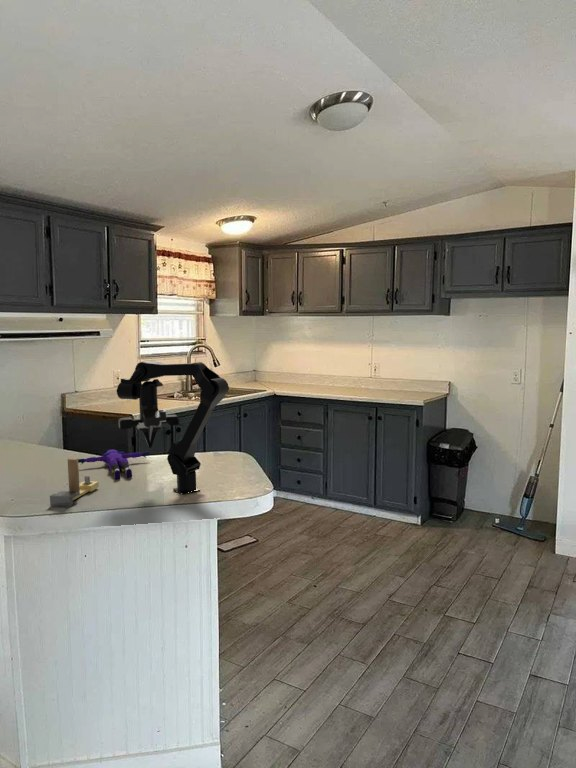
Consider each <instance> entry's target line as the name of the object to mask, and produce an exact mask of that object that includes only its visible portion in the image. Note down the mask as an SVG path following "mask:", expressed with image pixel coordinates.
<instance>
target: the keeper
mask: <svg viewBox="0 0 576 768" xmlns="http://www.w3.org/2000/svg"><path fill="white" fill-rule="evenodd" d="M79 494H80V492H77V491H69V490H61V491H59V492H57V493H52V494H51V495H49V504H50V506H49V507H56V508H59V507H60V508H71V507H72V506H73V505H74V500H73V498H74V497H76V496H78V495H79Z"/></svg>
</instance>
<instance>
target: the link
mask: <svg viewBox="0 0 576 768" xmlns="http://www.w3.org/2000/svg"><path fill="white" fill-rule="evenodd" d="M78 459H79V458H78V457H71V458H68V459H67V473H68V474H67V475H68V491H77V492H80V494H79V495H78V496H76V497H74V498H73V501H74V500H76V499H78V498H80V497H81V496H83V495H86V493H89V492H88V491H92V492H94V491H96V489H98V488H99V487H100V486H99V481H91V480H90V485H85V480H84V481H81V482H80V473H79V472H80V471H79V463H78ZM93 490H94V491H93Z"/></svg>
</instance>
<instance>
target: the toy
mask: <svg viewBox="0 0 576 768" xmlns="http://www.w3.org/2000/svg"><path fill="white" fill-rule="evenodd" d="M147 456H148V457H149V456H150V451H146V452H145V451H144V452H132V453H125V452H124V451H118V450H116V449H108V450H107V451H106V453H103V454H102V455H101V456H91V457H86V458H78V464H80V465H82V464H84V463H96V462H103V463H105V464H108V467H109V470H110V471H111V473H114V474H113V476H114V480H115V481H117V480H118V481H119V480H121V471H122V472H125V476H126V479H132V478H133V471H132V469H131V468H130V466H129V464H130V463H129V459H130V458H131V459H135V458H141V457H144V458H147ZM120 470H121V471H120Z"/></svg>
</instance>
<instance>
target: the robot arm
mask: <svg viewBox="0 0 576 768" xmlns="http://www.w3.org/2000/svg"><path fill="white" fill-rule="evenodd" d="M164 376H165V377H166V376H167V377H168V376H170V377H171V376H177V377H178V376H192V378H193V379H194V381H195V383H196V385H197V386H198V387H199V388H200V389H201V390H200V393H199V404H198V406H197V407H196V410H195V411H194V414H193V416H192V417H191V420H190V421H189V424H188V426H187V427H186V430H185V432H184V433H183V436H182V438H181V439H179V440H176V441H174V442H172V443H171V445H170V448H169V450H168V451H167V452H166V453H167V457H166V460H167V462H168V464H169V467H170V470H171V473H172V475H175V476H176V488H173V490H172V491H174V492H176V491H177V493H179V494H181V493H182V494H181V495H186V494H185V493H187V494H189V493H188V492H191V491H194V490H196V487H197V472H196V471H197V470H200V468H201V462H200V461H199V460H198V458H197V457H196V456H195V455H196V450H197V449H196V448H197V447H196V445H197V442H198V440H199V438H200V436H201V434H202V432H203V430H204V429H205V426H206V424H207V422H208V420H209V419H210V417H211V415H212V413H213V411H214V409H215V407H216V406H218V404H219V403H221V402H222V401H223V400H224V398H225V397H226V395H227V394H228V393H229V389H230V386H229V383H228V381H227V380H226V379H224V378H222V377H221V376H220V375H219V374H218V373H216V372H215V371H213V370H212V369H210V368H209V367H208V366H207V365H206V364H205V363H203V362H202V361H201V362H200V361H199V362H191V363H189V362H188V363H186V362H185V363H164V362H161V361H160V362H159V361H156V360H150V361H141V362H140V361H139V362H138V363H137V364H136V366H135V367H134V371H133V373H132V374H131V376H130V378H120V382H119V383H118V385H117V388H116V395H117V398H119V399H121V400H138V399H139V400H138V402H139V405H138V406H139V419H133V418H132V417H120V418H119V419H118V428H119V429H120V430H126V429H127V430H129V429H131V428H132V427H135V426H136V429H137V430H138V431H141V432H142V435H143V436H144V438H145V441H146V444H147V446H148V449H152V447H153V444H154V441H155V437H156V435H157V433H158V431H159V430H162V429H163V426H162V424H167V425H169V427H170V426H180V417H179V416H177V414H167V413H166V412H167V411H166V409H159V407H158V406H159V405H158V404H159V403H158V401H159V400H158V387H163V386H164V384H163V383H162V382H161V381H160V380H159V379H158V378H162V377H164ZM149 429H150V430H149Z"/></svg>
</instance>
